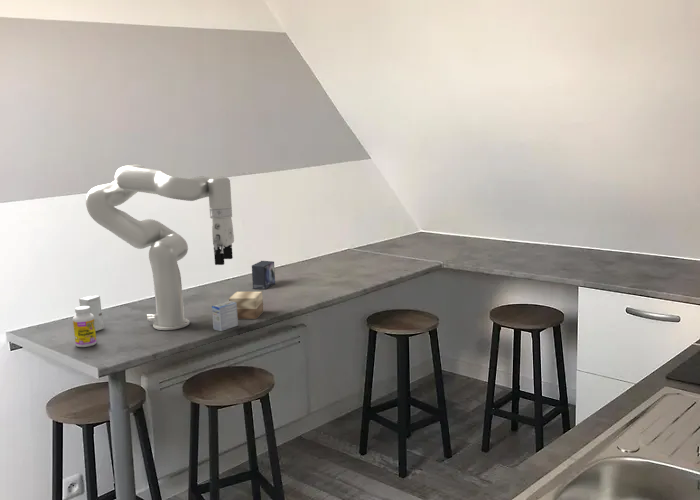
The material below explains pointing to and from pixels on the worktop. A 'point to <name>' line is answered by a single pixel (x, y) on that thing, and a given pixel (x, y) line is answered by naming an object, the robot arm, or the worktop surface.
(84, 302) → the skincare box
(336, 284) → the worktop surface
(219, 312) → the medicine box
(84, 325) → the supplement bottle
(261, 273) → the small box
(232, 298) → the birch slab
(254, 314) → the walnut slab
